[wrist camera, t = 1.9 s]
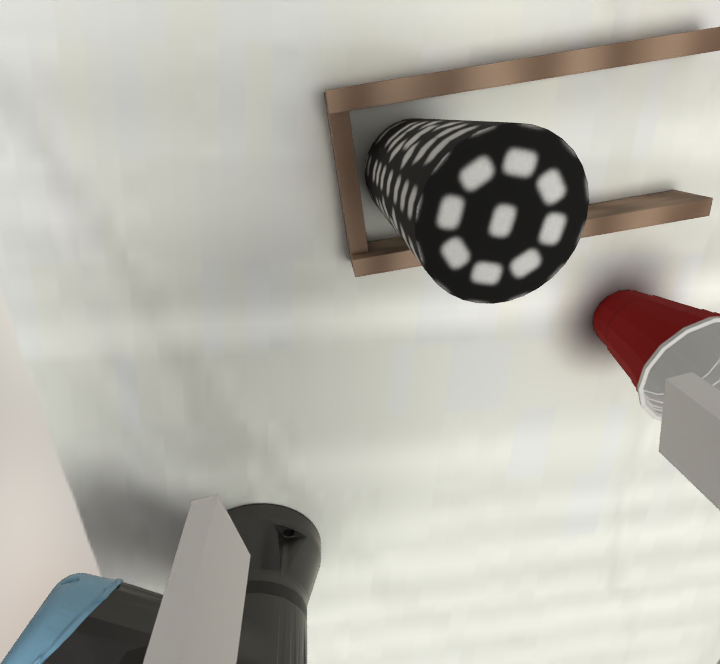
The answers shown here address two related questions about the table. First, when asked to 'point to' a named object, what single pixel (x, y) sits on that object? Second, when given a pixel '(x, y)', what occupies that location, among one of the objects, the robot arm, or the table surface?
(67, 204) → the table surface
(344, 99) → the walnut rest
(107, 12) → the table surface
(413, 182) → the spotted tube
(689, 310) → the plastic cup
